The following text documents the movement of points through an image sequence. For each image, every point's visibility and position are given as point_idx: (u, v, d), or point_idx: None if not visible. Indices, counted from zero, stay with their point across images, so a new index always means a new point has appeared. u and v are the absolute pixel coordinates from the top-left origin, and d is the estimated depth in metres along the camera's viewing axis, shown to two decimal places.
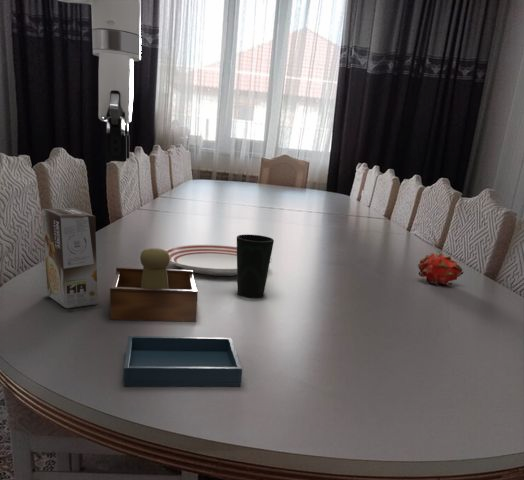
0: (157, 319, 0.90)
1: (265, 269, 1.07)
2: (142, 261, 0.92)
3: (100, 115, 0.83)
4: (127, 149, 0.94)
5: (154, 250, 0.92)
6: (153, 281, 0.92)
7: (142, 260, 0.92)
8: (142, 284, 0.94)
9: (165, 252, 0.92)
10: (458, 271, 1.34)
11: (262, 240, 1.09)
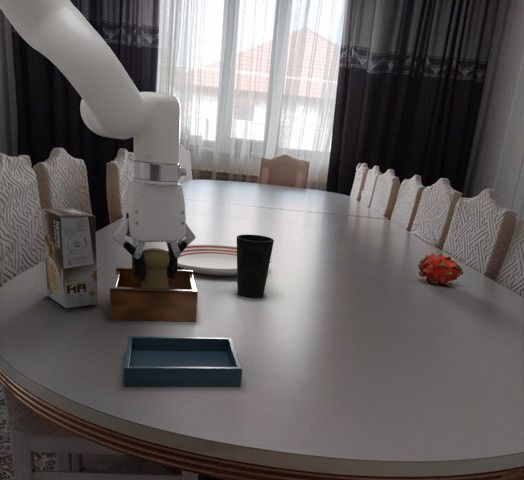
0: (157, 319, 0.90)
1: (265, 269, 1.07)
2: None
3: None
4: (171, 270, 0.94)
5: (154, 250, 0.92)
6: (153, 281, 0.92)
7: None
8: (142, 284, 0.94)
9: (165, 252, 0.92)
10: (458, 271, 1.34)
11: (262, 240, 1.09)
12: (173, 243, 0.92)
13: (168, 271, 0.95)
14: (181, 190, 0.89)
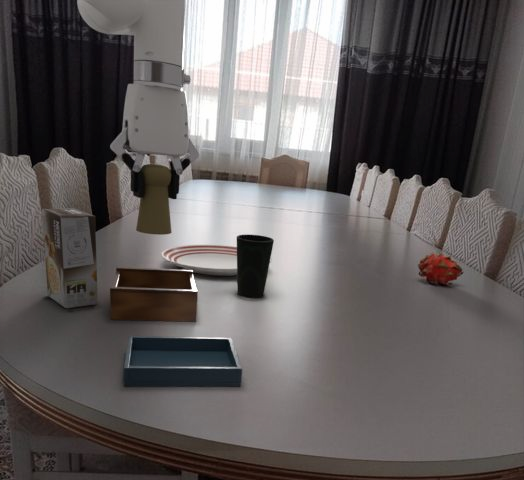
0: (157, 319, 0.90)
1: (265, 269, 1.07)
2: None
3: (123, 145, 0.85)
4: (172, 189, 0.88)
5: (155, 165, 0.85)
6: (153, 199, 0.86)
7: None
8: (141, 203, 0.87)
9: (166, 168, 0.86)
10: (458, 271, 1.34)
11: (262, 240, 1.09)
12: (175, 158, 0.86)
13: (169, 191, 0.89)
14: (185, 98, 0.83)
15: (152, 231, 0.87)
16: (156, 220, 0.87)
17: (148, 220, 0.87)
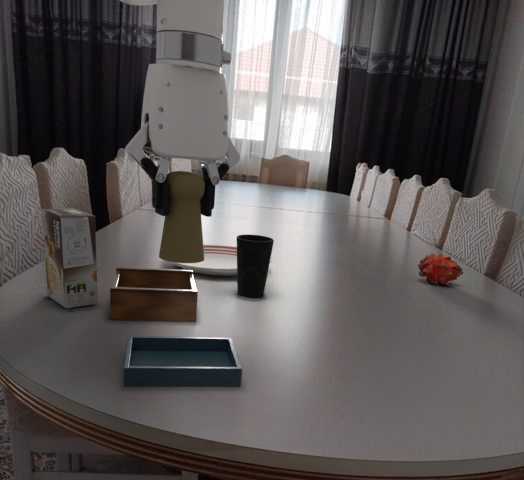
0: (157, 319, 0.90)
1: (265, 269, 1.07)
2: None
3: None
4: (206, 204, 0.67)
5: (184, 172, 0.64)
6: (182, 217, 0.65)
7: None
8: (166, 222, 0.66)
9: (199, 176, 0.65)
10: (458, 271, 1.34)
11: (262, 240, 1.09)
12: (210, 163, 0.65)
13: (202, 206, 0.68)
14: (224, 82, 0.62)
15: (180, 259, 0.67)
16: (185, 244, 0.66)
17: (175, 245, 0.66)
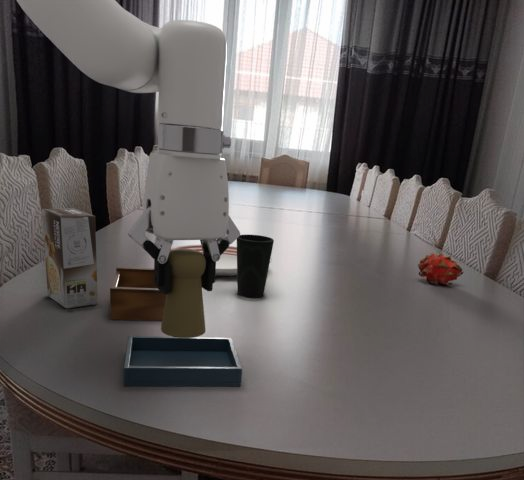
0: (157, 319, 0.90)
1: (265, 269, 1.07)
2: None
3: None
4: (207, 280, 0.68)
5: (185, 252, 0.66)
6: (183, 295, 0.67)
7: None
8: (168, 299, 0.68)
9: (200, 254, 0.67)
10: (458, 271, 1.34)
11: (262, 240, 1.09)
12: (211, 242, 0.67)
13: (203, 280, 0.70)
14: (224, 167, 0.63)
15: (182, 334, 0.68)
16: (187, 320, 0.68)
17: (176, 321, 0.68)
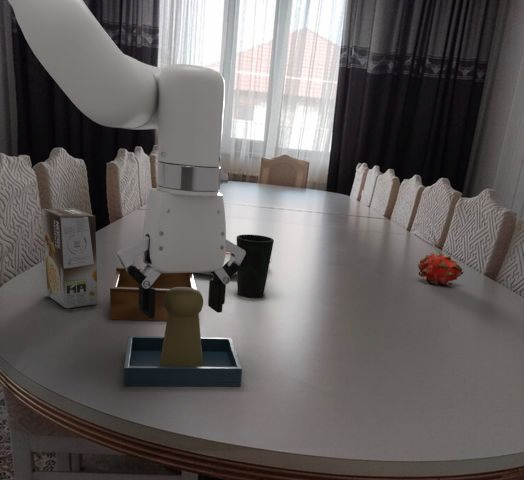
0: (157, 319, 0.90)
1: (265, 269, 1.07)
2: (167, 306, 0.68)
3: (143, 260, 0.67)
4: (217, 301, 0.71)
5: (183, 291, 0.68)
6: (181, 332, 0.69)
7: (167, 305, 0.68)
8: (166, 335, 0.70)
9: (198, 293, 0.69)
10: (458, 271, 1.34)
11: (262, 240, 1.09)
12: (217, 269, 0.69)
13: (212, 302, 0.72)
14: (222, 203, 0.65)
15: None
16: (185, 356, 0.70)
17: (175, 357, 0.70)
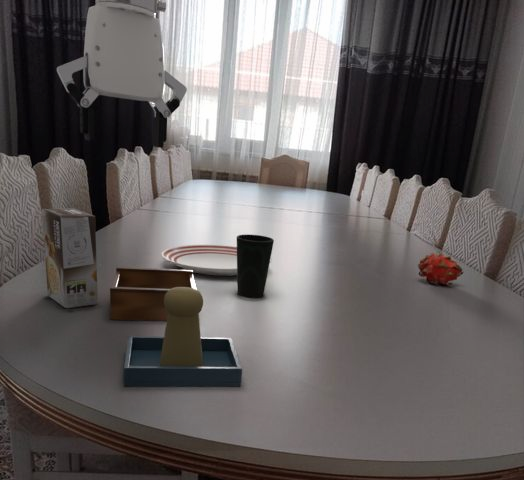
0: (157, 319, 0.90)
1: (265, 269, 1.07)
2: (167, 306, 0.68)
3: (85, 86, 0.70)
4: (158, 135, 0.74)
5: (183, 291, 0.68)
6: (181, 332, 0.69)
7: (167, 305, 0.68)
8: (166, 335, 0.70)
9: (198, 293, 0.69)
10: (458, 271, 1.34)
11: (262, 240, 1.09)
12: (156, 100, 0.72)
13: (155, 138, 0.75)
14: (158, 27, 0.68)
15: None
16: (185, 356, 0.70)
17: (174, 357, 0.70)
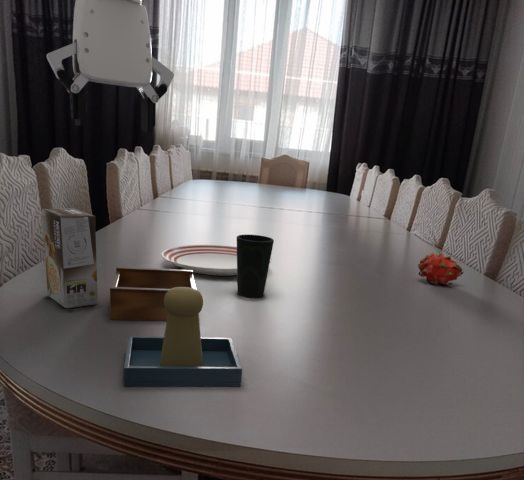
0: (157, 319, 0.90)
1: (265, 269, 1.07)
2: (167, 306, 0.68)
3: (74, 72, 0.72)
4: (147, 120, 0.76)
5: (183, 291, 0.68)
6: (181, 332, 0.69)
7: (167, 304, 0.68)
8: (166, 335, 0.70)
9: (198, 293, 0.69)
10: (458, 271, 1.34)
11: (262, 240, 1.09)
12: (145, 85, 0.74)
13: (144, 123, 0.77)
14: (145, 13, 0.70)
15: None
16: (185, 356, 0.70)
17: (174, 357, 0.70)
